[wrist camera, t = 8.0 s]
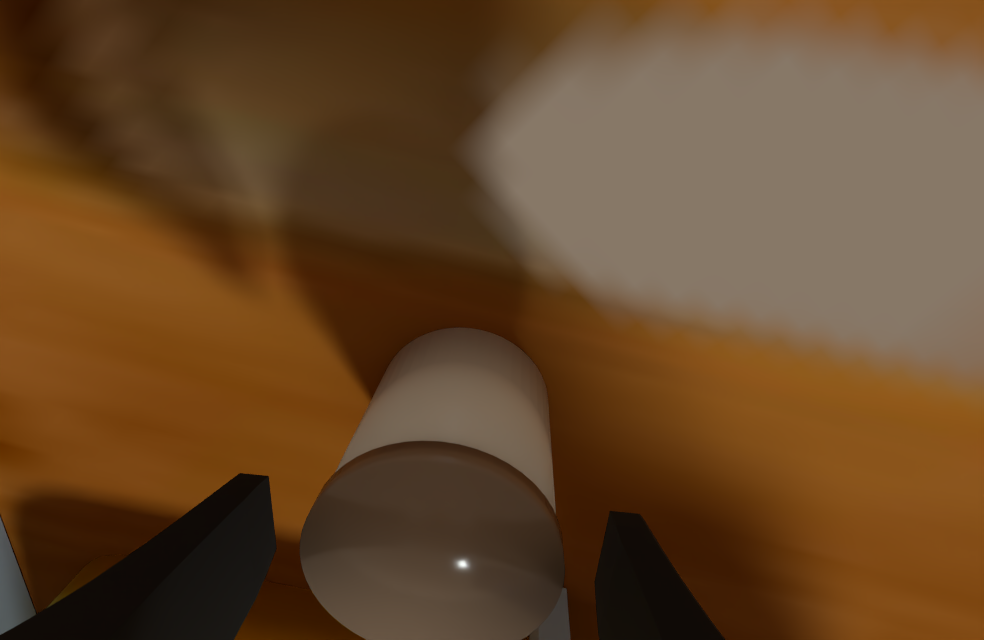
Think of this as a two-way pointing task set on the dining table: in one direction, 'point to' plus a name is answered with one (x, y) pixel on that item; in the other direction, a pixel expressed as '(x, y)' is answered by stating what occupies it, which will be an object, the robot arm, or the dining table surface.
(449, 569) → the jar
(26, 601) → the gray tray
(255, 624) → the element tile
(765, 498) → the dining table surface
